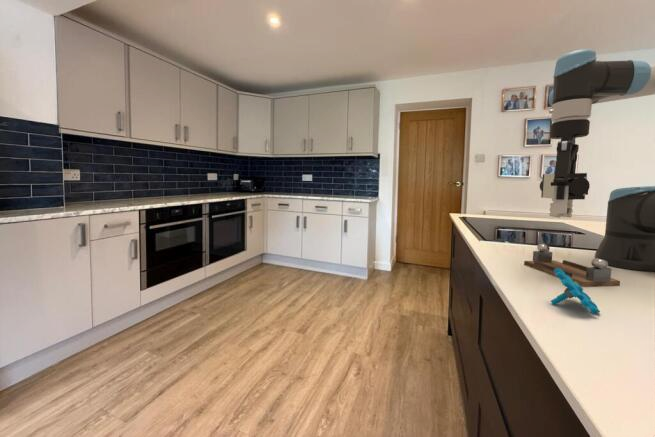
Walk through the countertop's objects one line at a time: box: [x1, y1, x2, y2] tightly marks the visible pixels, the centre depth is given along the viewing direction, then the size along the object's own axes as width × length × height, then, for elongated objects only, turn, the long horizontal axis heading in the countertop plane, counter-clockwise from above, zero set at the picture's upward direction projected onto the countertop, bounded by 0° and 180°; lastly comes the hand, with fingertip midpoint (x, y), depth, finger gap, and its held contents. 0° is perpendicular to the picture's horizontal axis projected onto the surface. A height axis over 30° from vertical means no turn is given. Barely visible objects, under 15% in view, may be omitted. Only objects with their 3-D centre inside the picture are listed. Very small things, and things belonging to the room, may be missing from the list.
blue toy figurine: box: [550, 268, 601, 315], centre depth 61 cm, size 11×6×10 cm
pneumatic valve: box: [539, 172, 591, 219], centre depth 76 cm, size 6×12×12 cm, turn 175°
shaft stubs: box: [532, 243, 613, 282], centre depth 81 cm, size 4×19×5 cm, turn 5°
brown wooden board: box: [523, 259, 621, 288], centre depth 81 cm, size 10×19×2 cm, turn 5°
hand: (562, 211), depth 76 cm, fingers closed on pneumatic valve, 10 cm apart
